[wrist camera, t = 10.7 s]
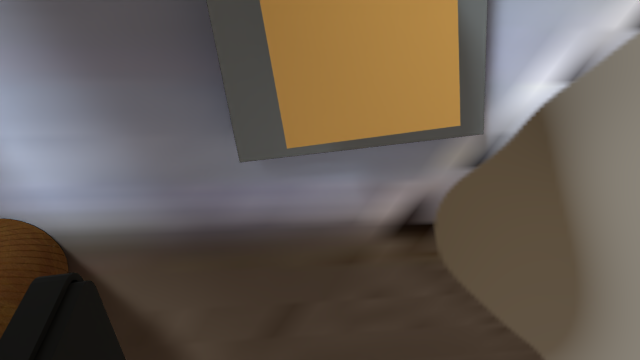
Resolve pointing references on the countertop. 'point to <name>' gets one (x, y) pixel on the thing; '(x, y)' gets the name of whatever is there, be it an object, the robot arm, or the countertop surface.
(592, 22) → the countertop surface
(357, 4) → the tan cardboard carton
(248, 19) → the block
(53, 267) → the disposable coffee cup
